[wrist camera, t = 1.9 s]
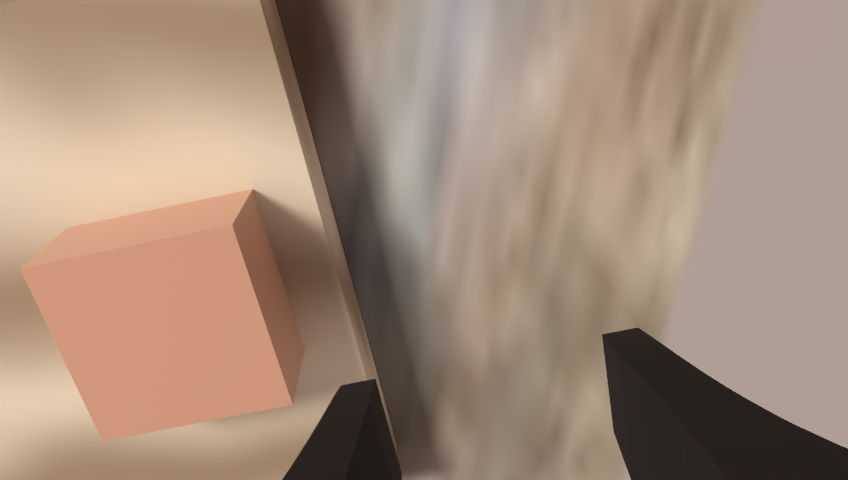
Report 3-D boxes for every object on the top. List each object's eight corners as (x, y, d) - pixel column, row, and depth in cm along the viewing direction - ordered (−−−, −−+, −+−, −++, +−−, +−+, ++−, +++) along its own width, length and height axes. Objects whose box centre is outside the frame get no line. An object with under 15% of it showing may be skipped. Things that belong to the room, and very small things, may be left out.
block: (304, 351, 20) (292, 404, 18) (135, 384, 20) (102, 441, 18) (252, 188, 18) (231, 224, 16) (67, 227, 18) (19, 268, 16)
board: (397, 447, 24) (397, 489, 22) (60, 510, 24) (33, 557, 23) (260, -52, 18) (245, -51, 16) (-187, 49, 18) (-251, 61, 16)
